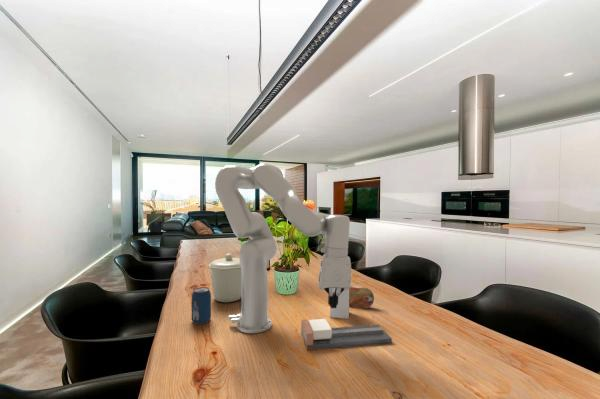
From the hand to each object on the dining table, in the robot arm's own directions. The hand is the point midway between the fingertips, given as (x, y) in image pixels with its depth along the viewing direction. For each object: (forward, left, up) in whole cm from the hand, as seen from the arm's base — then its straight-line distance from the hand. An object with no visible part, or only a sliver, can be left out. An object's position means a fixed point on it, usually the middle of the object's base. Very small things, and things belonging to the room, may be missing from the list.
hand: (332, 306), depth 93 cm
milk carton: (+8, +18, -11) cm, 23 cm away
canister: (-38, +43, -11) cm, 59 cm away
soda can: (-46, +20, -11) cm, 51 cm away
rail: (+4, -1, -11) cm, 12 cm away
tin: (+18, +26, -11) cm, 34 cm away
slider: (-5, -1, -9) cm, 10 cm away
